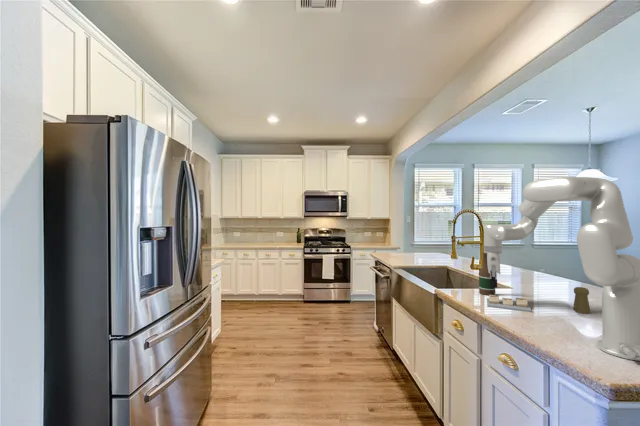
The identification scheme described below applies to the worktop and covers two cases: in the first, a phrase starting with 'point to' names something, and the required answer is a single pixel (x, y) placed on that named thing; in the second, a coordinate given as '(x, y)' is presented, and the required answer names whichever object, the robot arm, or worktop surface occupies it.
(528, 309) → the board
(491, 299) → the key
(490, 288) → the beer bottle
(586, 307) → the cork
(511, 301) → the key
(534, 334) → the worktop surface
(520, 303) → the key
